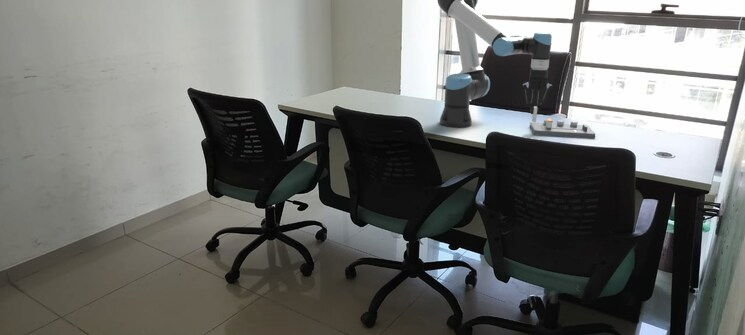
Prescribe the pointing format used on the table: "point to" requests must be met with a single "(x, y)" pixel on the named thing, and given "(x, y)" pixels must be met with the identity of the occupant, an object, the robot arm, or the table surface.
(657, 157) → the table surface
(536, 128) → the console
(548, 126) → the fader
